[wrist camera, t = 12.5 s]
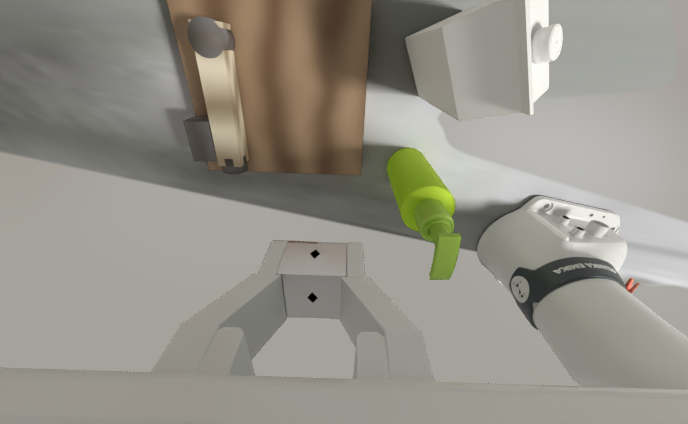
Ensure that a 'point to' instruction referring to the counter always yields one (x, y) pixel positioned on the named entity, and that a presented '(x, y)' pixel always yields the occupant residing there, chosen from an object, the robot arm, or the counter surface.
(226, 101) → the folding leg
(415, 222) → the soap dispenser
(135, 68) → the counter surface
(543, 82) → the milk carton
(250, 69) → the wooden tray
